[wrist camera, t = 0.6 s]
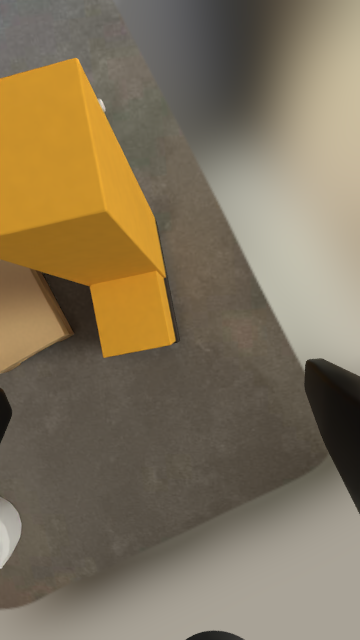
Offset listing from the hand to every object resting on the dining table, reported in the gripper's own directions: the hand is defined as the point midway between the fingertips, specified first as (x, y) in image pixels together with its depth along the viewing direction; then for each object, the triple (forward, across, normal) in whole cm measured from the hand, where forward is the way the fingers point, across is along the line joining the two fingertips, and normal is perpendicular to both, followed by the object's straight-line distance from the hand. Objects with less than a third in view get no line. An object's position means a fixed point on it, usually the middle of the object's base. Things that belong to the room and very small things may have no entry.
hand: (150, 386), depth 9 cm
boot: (+14, +3, +1) cm, 14 cm away
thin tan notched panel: (+14, +13, +1) cm, 19 cm away
